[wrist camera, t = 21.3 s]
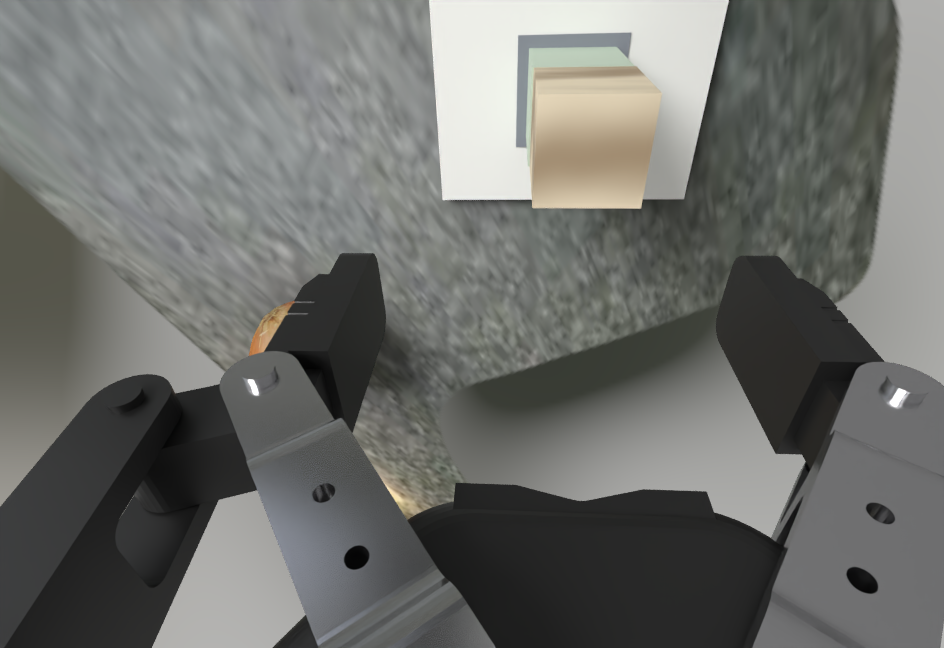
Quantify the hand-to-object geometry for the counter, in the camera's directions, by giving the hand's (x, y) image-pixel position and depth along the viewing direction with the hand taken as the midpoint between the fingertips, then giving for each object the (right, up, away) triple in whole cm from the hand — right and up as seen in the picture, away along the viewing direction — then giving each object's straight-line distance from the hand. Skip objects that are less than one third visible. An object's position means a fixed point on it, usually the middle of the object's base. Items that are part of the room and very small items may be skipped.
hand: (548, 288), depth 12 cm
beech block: (+4, +11, +18) cm, 21 cm away
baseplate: (+5, +15, +23) cm, 28 cm away
